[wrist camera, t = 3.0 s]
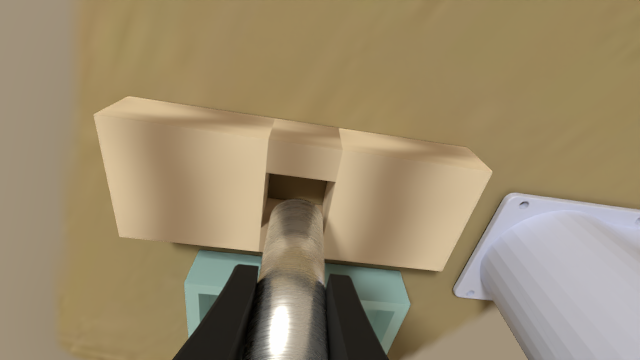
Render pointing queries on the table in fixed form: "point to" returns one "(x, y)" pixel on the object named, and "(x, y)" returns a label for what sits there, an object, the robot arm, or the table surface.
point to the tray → (370, 283)
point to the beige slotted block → (286, 159)
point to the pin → (290, 288)
